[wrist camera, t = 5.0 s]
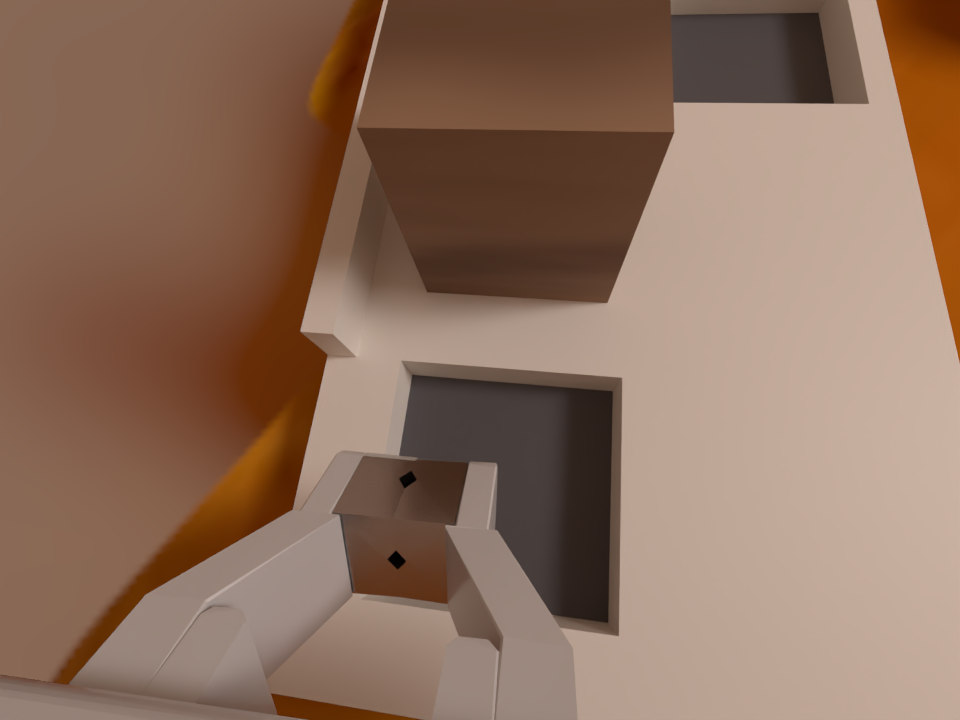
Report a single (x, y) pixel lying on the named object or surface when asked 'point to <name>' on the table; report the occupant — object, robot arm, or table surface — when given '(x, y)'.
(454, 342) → the box
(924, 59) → the table surface
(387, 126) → the walnut block
